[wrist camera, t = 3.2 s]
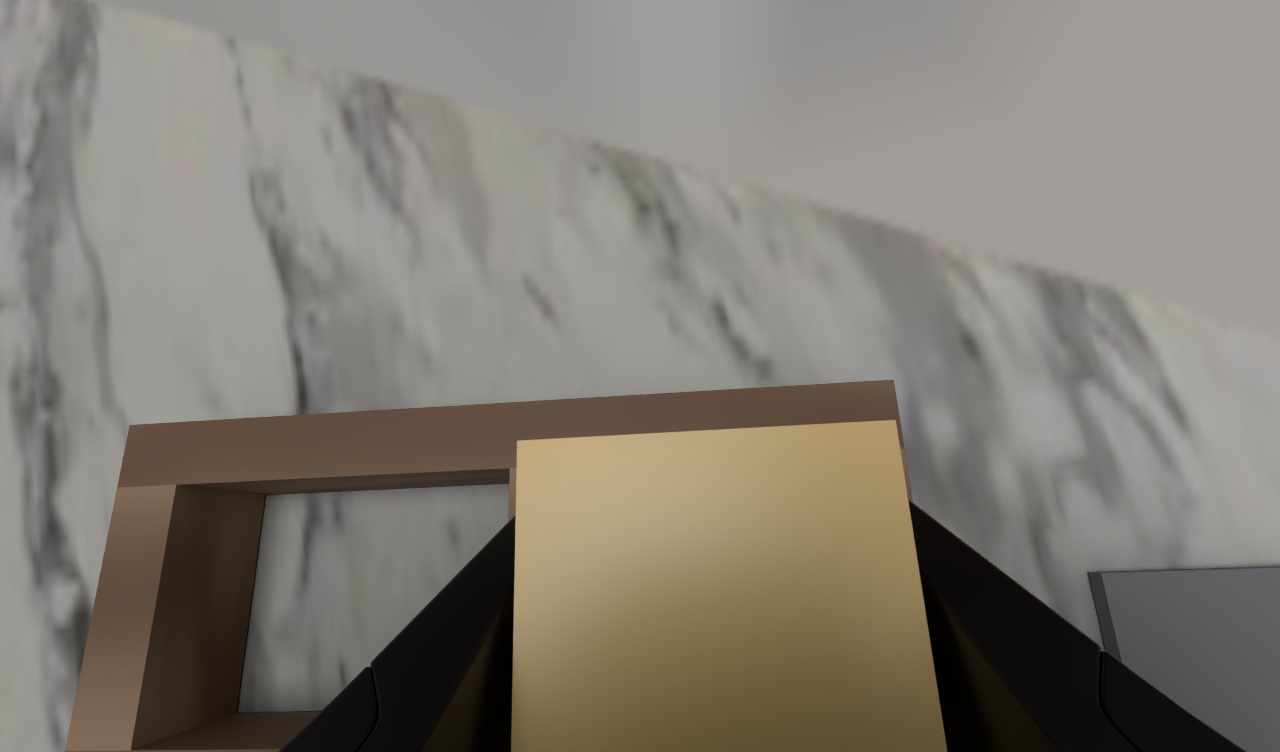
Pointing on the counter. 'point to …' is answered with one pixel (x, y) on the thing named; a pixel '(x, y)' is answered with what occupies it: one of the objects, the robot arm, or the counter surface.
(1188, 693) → the charcoal mat
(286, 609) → the counter surface
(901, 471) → the ochre plug
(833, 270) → the counter surface
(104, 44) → the counter surface
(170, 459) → the brown divided frame
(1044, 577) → the counter surface
